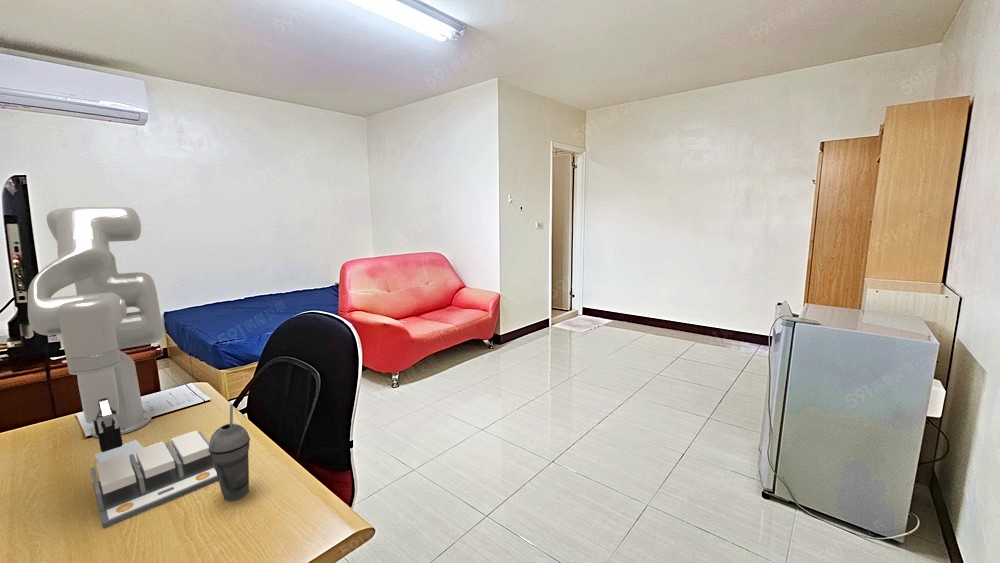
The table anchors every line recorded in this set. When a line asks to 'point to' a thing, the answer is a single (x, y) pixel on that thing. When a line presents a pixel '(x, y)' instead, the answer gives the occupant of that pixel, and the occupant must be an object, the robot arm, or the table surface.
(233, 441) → the beverage cup
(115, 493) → the switch console
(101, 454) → the hard drive
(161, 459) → the white rectangular block
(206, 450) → the button
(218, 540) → the table surface
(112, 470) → the button
